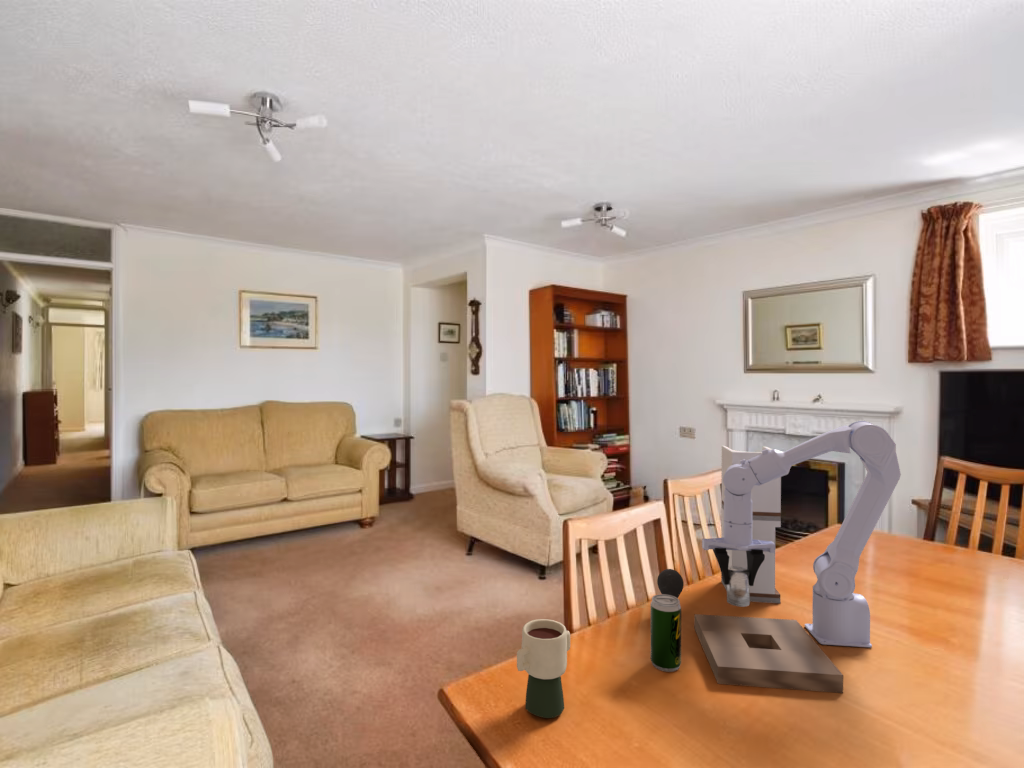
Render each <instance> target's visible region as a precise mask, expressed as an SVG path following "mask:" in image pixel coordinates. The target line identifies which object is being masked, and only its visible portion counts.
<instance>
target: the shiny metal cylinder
mask: <svg viewBox="0 0 1024 768" xmlns="http://www.w3.org/2000/svg"><path fill="white" fill-rule="evenodd" d="M728 579H729V582H728V585H727V591H726V602H727V603H728V605H729V604H730V605H731V606H735V607H742V608H745V607H749V606H750V604H751V601H750V588H749V570H748V569H746V568H742V567H735V566H732V567H728Z"/></svg>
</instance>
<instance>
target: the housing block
mask: <svg viewBox="0 0 1024 768" xmlns="http://www.w3.org/2000/svg"><path fill="white" fill-rule="evenodd" d="M693 629H694V631H695V633H696V635H697V638H698V641H699V642H700V645H701V647H702V649H703V652H704V654H705V656H706V659H707V662H708V663H709V666H710V669H711V670H712V672H713V675H714V677H715V680H716V682H717V684H719V685H731V686H744V687H745V686H746V687H759V688H770V689H771V688H773V689H782V690H783V689H785V690H799V691H810V692H811V691H813V692H823V693H824V692H826V693H836V694H837V693H838V694H839V693H841V694H843V693H844V674H843V673H842V672H841V670H839V669H838V667H837V666H836V665H835V664H834V662H833V661H832V660H831V659H830V658H829V656H828V655H827V654H826V653H825V652H824V650H823V649H821V648H820V646H819V645H818V644H817V643H816V642H815V640H814V639H813V638H812V637H811V635H810V634H809V633H808V632H807V631H806V630H805V628H804V627H803V626H802V625H801V624H800V623H799V621H798V620H797V619H786V618H785V619H784V618H769V617H766V618H765V617H754V616H753V617H751V616H749V617H748V616H732V615H716V614H715V615H713V614H700V613H699V614H697V613H695V614H694V628H693Z"/></svg>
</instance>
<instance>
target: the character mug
mask: <svg viewBox="0 0 1024 768" xmlns="http://www.w3.org/2000/svg"><path fill="white" fill-rule="evenodd" d="M521 631H522V632H521V636H522V637H521V638H522V639H521V648H520V649H518V650H517V651H516V668H517V671H518V672H523V671H525V672H526V673H527V674H528V677H527V682H526V683H527V685H526V689H525V691H526V692H525V702H524V703H525V704H524V705H525V706H524V708H525V710H527V712H529V713H530V714H531V715H534V716H535V717H541V718H543V719H544V718H545V719H552V718H557V717H558V716H560V715H561V714H562V713H563V711H564V709H565V697H564V690H563V683H562V676H563V675H564V674H565V673H566V670H567V666H568V651H570V649H571V633H570V631H569V630H567V628H566V626H565V625H564V624H563V623H562V622H560V621H556V620H553V619H548V618H546V619H545V618H544V619H543V618H542V619H541V618H539V619H538V618H537V619H533V620H529V621H528V622H526V623H525V624H524V625H523V626H522V630H521Z"/></svg>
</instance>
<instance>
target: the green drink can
mask: <svg viewBox="0 0 1024 768" xmlns="http://www.w3.org/2000/svg"><path fill="white" fill-rule="evenodd" d="M680 602H681V601H680V599H679V597H678V598H676V597H674V596H671V595H666V594H660V593H659V594H655V595H653V596H652V597H651V602H650V661H651V664H652V666H653V667H654V668H655V669H657V670H658V671H662V672H666V673H671V672H677V671H678V670H679V669H680V666H681V664H682V605H681V603H680Z"/></svg>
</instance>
